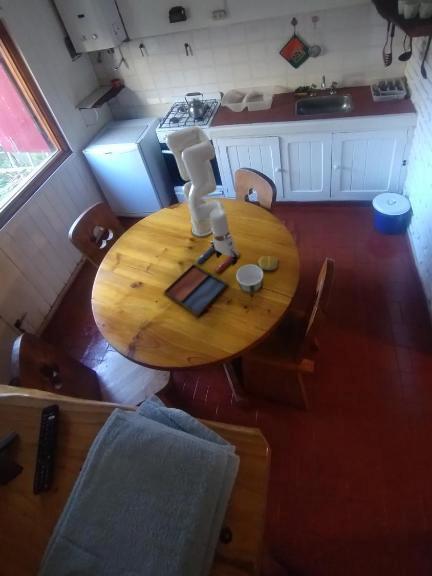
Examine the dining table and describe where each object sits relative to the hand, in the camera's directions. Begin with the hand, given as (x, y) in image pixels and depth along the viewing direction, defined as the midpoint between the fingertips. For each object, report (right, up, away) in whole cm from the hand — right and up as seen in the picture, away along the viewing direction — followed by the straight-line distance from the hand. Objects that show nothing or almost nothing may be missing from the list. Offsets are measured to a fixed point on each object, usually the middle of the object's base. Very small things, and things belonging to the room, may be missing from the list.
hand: (227, 259), depth 167 cm
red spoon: (0, -2, +2) cm, 3 cm away
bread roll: (+20, -2, -2) cm, 20 cm away
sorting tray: (-14, -13, -7) cm, 21 cm away
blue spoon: (-9, +1, +9) cm, 13 cm away
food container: (+11, -10, -9) cm, 17 cm away
